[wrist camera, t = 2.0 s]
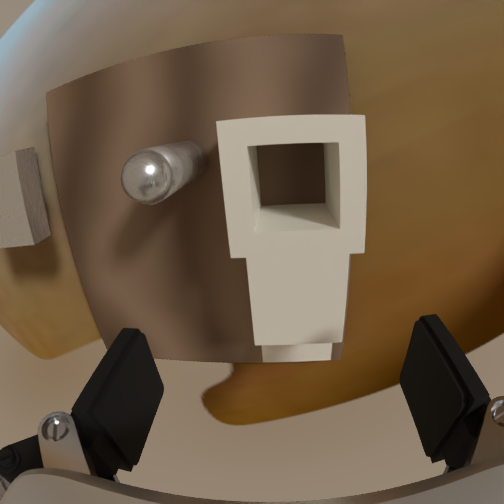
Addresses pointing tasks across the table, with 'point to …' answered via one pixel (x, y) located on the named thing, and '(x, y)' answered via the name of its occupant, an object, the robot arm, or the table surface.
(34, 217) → the block
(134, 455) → the robot arm
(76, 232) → the board
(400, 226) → the table surface
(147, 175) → the cylinder
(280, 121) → the link
